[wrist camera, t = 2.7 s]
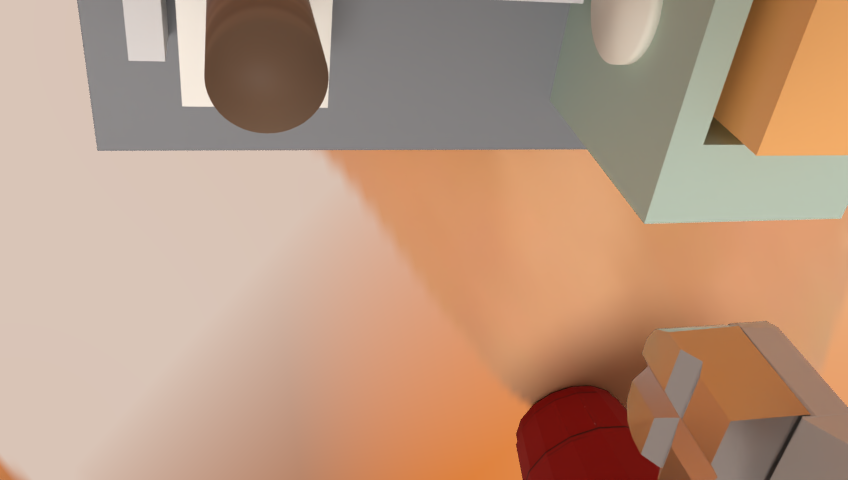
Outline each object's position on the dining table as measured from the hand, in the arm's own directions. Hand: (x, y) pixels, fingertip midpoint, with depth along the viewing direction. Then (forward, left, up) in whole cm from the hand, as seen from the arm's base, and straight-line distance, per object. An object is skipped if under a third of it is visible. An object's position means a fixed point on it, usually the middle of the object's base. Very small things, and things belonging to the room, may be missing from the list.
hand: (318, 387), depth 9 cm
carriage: (0, 0, -18) cm, 18 cm away
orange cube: (0, +14, -13) cm, 19 cm away
